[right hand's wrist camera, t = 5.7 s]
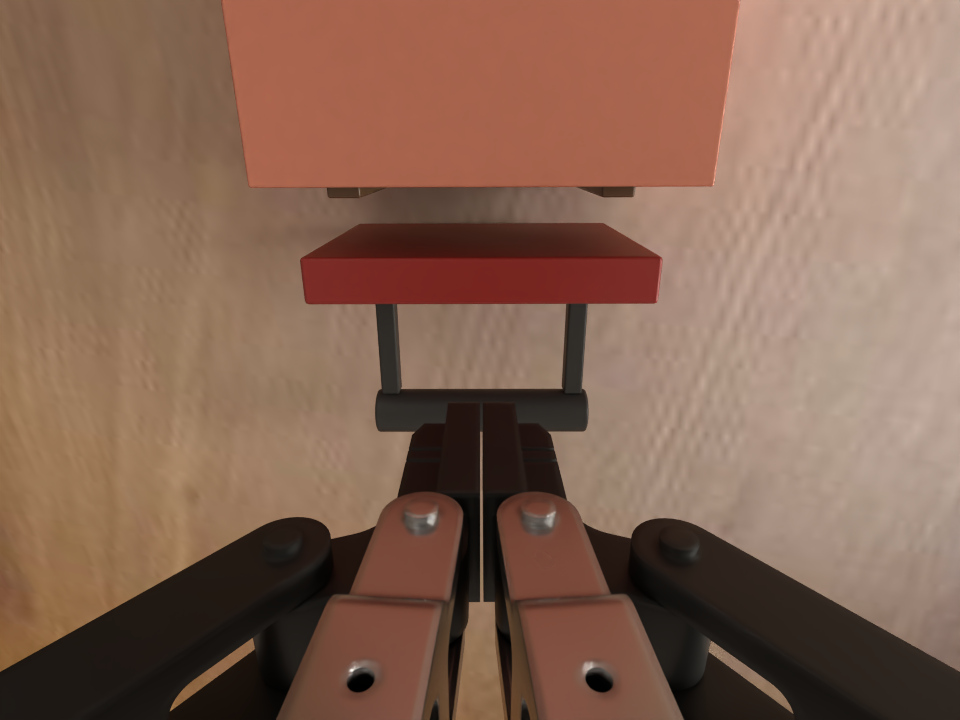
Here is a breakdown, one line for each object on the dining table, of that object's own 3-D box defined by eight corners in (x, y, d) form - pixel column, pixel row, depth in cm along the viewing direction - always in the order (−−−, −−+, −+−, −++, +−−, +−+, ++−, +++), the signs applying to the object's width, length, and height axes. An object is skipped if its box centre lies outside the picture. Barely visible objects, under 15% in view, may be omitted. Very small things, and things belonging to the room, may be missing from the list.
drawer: (592, 389, 22) (637, 487, 16) (371, 389, 22) (326, 487, 16) (655, -434, 14) (804, -937, 7) (305, -430, 14) (153, -929, 8)
